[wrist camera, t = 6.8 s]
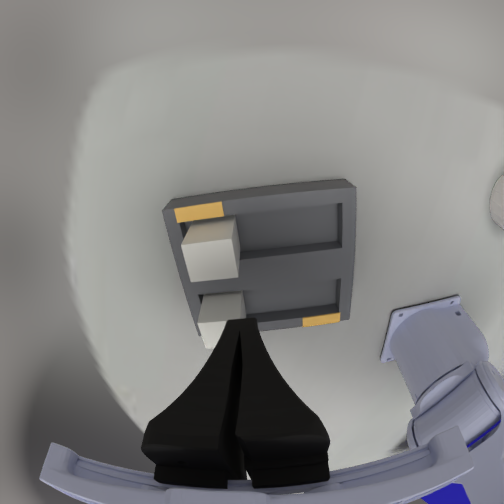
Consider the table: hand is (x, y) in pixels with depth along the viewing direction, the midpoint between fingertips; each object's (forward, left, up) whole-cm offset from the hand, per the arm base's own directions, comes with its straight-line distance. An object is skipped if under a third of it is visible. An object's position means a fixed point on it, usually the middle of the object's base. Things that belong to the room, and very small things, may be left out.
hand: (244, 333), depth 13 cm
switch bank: (-1, +1, -10) cm, 10 cm away
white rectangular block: (+2, -2, -9) cm, 9 cm away
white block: (+2, +4, -9) cm, 10 cm away
